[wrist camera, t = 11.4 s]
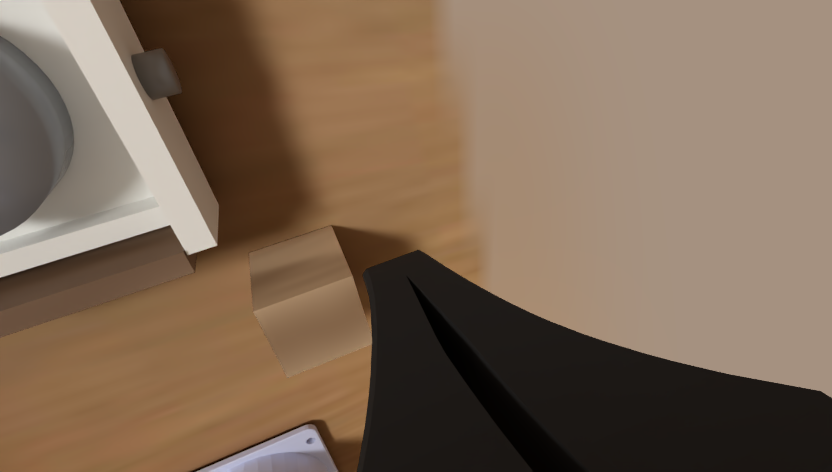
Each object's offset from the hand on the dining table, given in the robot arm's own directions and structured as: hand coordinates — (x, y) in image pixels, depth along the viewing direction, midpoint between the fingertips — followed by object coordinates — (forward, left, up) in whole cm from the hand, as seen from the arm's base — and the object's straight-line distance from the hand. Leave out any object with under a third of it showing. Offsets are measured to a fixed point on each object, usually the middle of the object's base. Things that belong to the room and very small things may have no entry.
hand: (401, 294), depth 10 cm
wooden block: (-5, +2, -10) cm, 11 cm away
